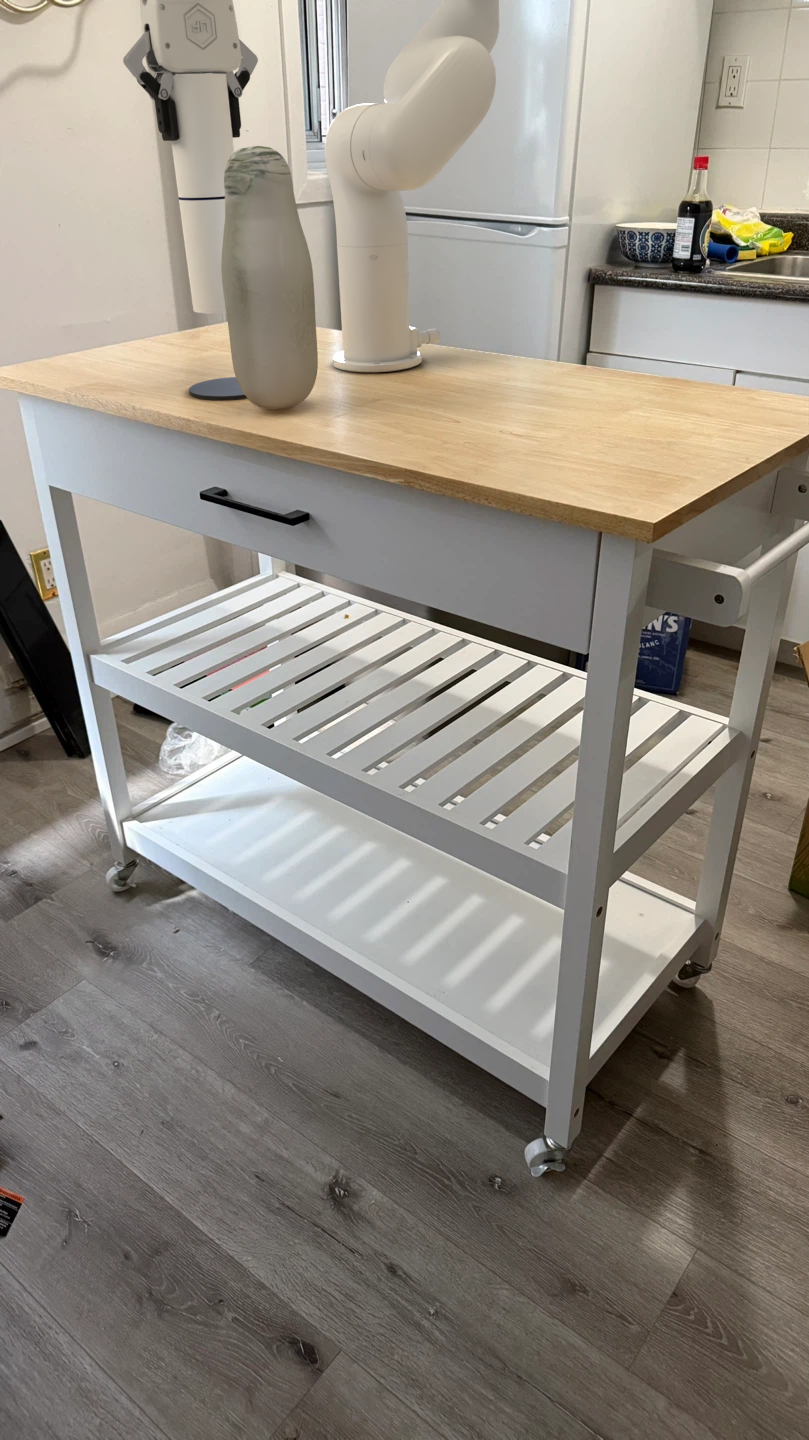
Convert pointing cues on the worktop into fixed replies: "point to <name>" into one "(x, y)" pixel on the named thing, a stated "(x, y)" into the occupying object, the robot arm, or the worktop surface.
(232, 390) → the coaster
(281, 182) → the standing stone ornament
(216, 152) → the cylindrical container
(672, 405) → the worktop surface
